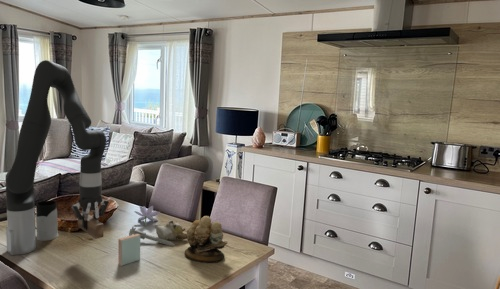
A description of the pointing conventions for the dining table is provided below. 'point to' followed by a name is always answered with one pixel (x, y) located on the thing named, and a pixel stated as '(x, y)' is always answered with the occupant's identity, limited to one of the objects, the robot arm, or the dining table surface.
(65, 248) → the dining table surface
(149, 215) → the water lily
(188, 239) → the owl figurine
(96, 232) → the walnut bar
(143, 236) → the caliper
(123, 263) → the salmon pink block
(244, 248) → the dining table surface
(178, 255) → the dining table surface
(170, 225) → the ceramic sculpture
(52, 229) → the glass holder
